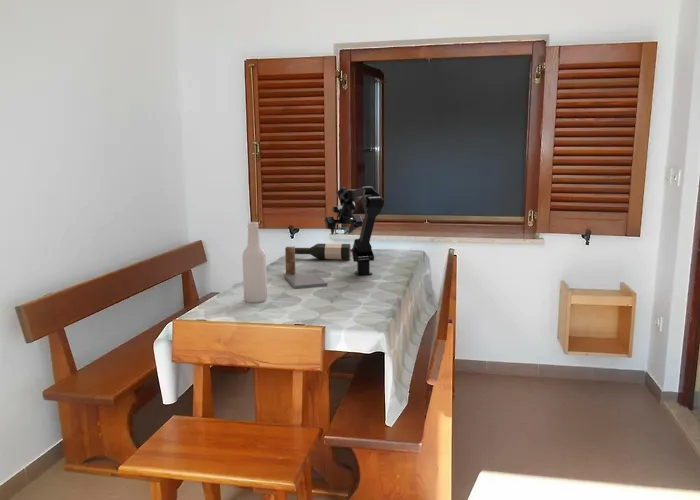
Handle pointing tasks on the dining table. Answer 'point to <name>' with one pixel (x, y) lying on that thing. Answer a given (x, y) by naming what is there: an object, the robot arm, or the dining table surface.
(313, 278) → the slate board
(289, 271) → the wooden pillar
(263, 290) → the alcohol
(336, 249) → the wine bottle
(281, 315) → the dining table surface
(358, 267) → the robot arm
